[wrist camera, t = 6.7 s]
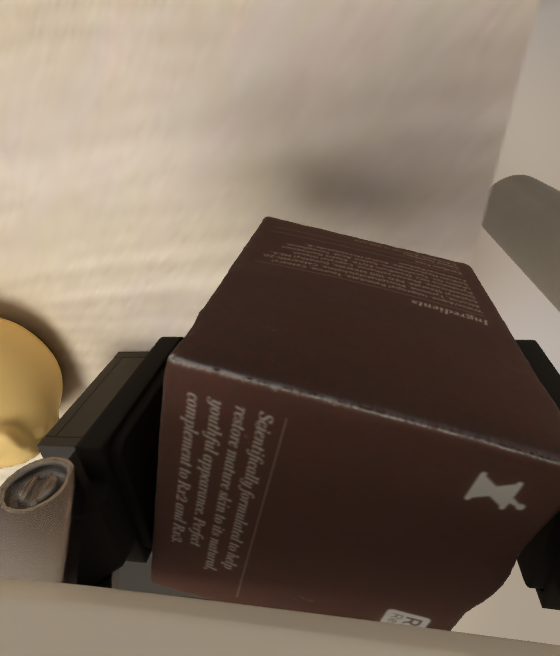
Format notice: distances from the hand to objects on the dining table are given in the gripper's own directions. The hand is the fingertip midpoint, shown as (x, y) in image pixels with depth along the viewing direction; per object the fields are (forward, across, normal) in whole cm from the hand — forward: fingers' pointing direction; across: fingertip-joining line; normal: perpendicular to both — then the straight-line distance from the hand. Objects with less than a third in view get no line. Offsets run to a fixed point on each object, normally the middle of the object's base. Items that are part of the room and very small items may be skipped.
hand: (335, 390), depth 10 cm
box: (+3, 0, 0) cm, 3 cm away
